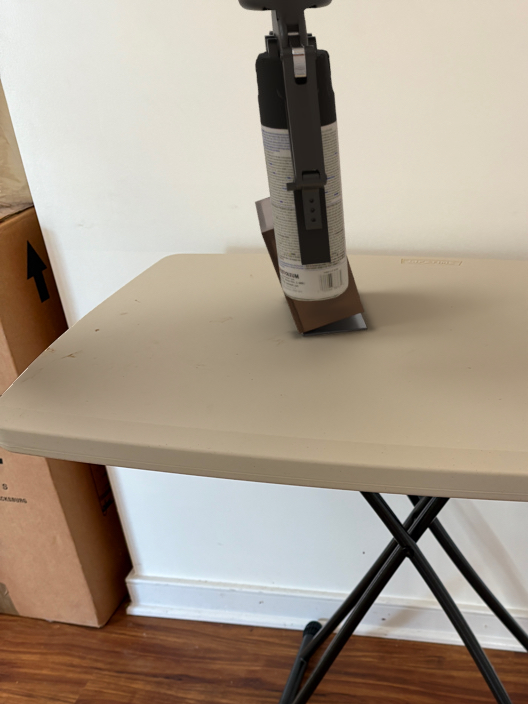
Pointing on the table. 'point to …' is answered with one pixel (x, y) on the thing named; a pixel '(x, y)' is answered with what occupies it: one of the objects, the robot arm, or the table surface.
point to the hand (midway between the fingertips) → (311, 249)
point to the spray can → (294, 276)
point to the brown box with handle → (318, 310)
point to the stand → (339, 326)
